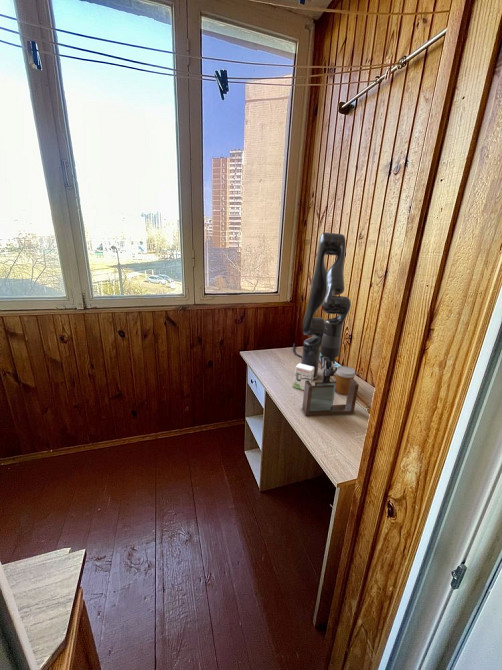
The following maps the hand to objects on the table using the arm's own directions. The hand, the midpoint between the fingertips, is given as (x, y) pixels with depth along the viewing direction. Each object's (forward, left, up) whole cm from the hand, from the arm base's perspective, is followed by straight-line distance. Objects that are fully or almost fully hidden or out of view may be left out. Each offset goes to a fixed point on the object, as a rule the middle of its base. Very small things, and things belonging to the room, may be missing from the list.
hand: (325, 381), depth 126 cm
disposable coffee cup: (-15, +16, -15) cm, 26 cm away
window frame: (+1, +2, -14) cm, 15 cm away
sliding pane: (0, 0, -13) cm, 13 cm away
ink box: (-20, -3, -15) cm, 25 cm away
